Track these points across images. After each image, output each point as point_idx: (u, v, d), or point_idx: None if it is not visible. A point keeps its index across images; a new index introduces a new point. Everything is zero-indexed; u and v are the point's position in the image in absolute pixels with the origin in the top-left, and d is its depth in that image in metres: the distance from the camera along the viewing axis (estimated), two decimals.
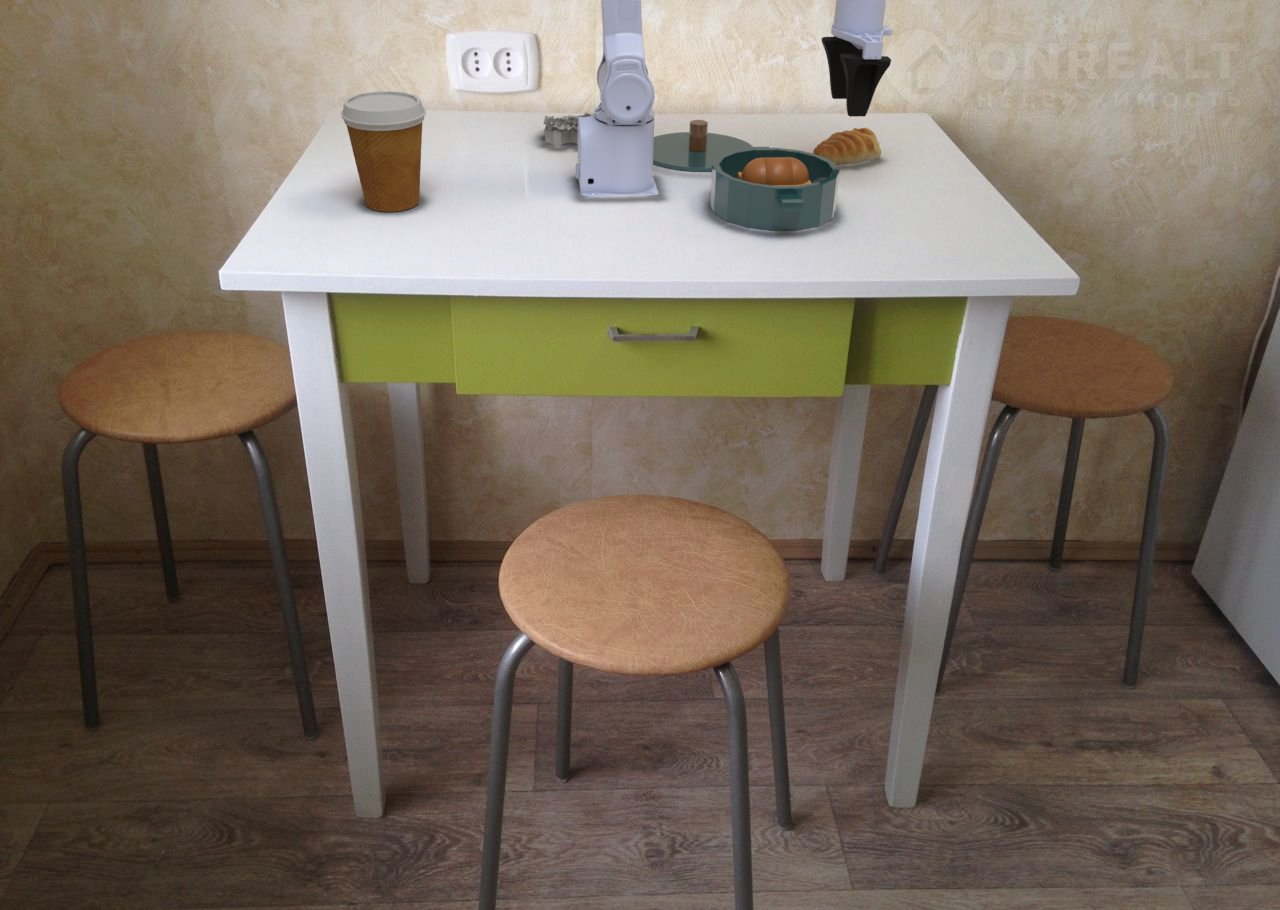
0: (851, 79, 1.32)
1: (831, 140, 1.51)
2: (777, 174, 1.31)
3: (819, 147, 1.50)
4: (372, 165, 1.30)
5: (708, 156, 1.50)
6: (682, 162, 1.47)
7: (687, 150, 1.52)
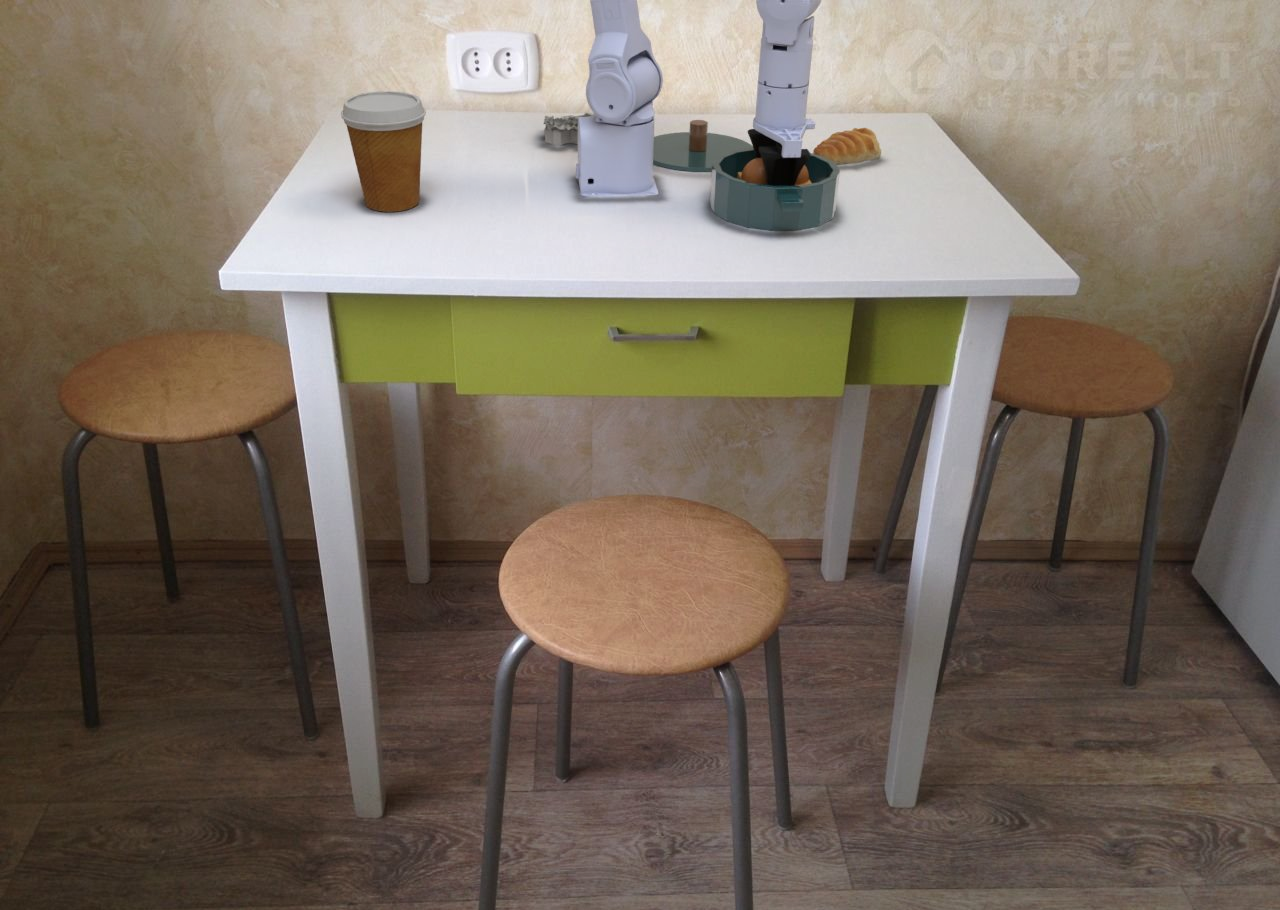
0: (770, 172, 1.29)
1: (831, 140, 1.51)
2: None
3: (819, 147, 1.50)
4: (372, 165, 1.30)
5: (708, 156, 1.50)
6: (682, 162, 1.47)
7: (687, 150, 1.52)
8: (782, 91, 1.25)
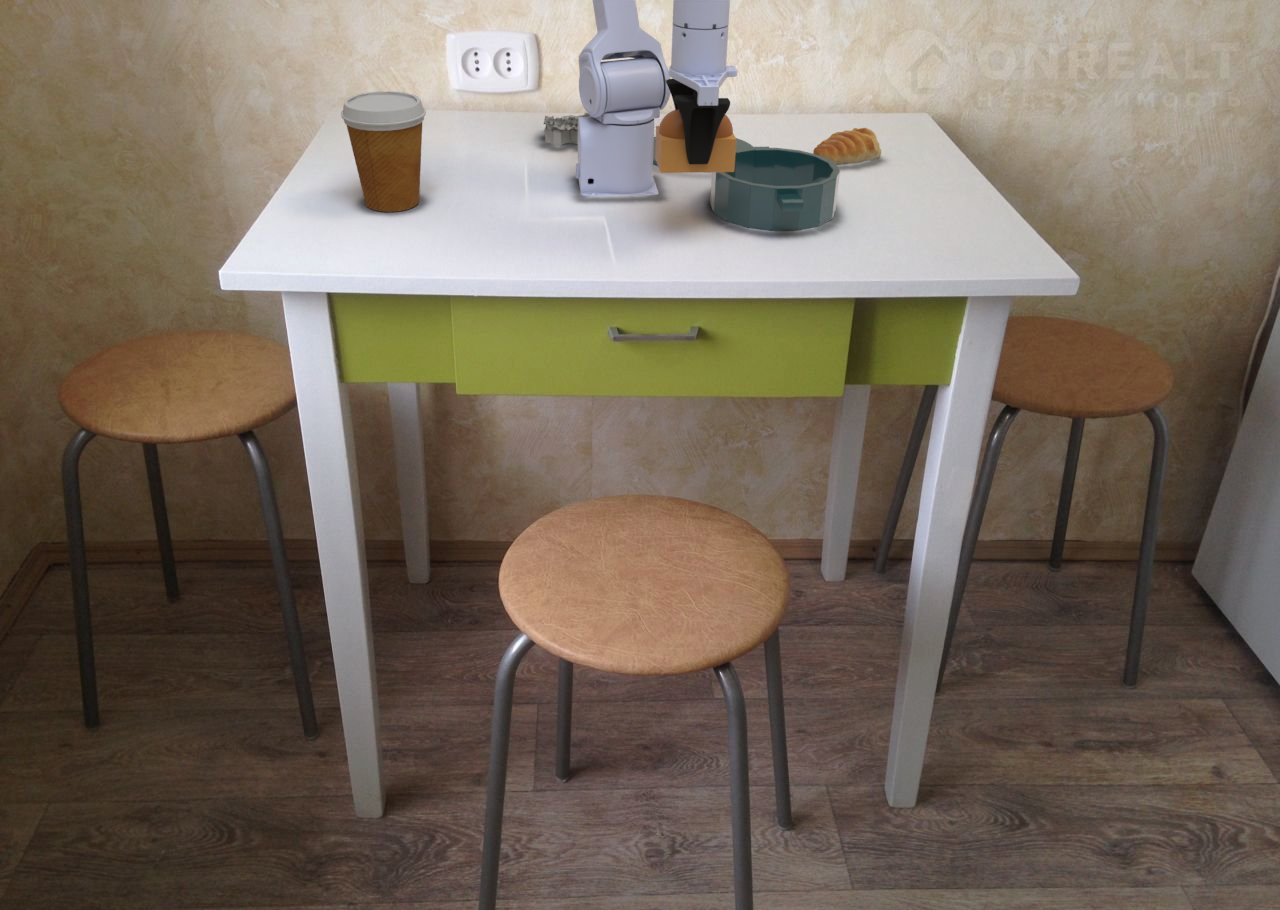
0: (687, 124, 1.17)
1: (831, 140, 1.51)
2: None
3: (819, 147, 1.50)
4: (372, 165, 1.30)
5: None
6: None
7: None
8: (698, 33, 1.14)
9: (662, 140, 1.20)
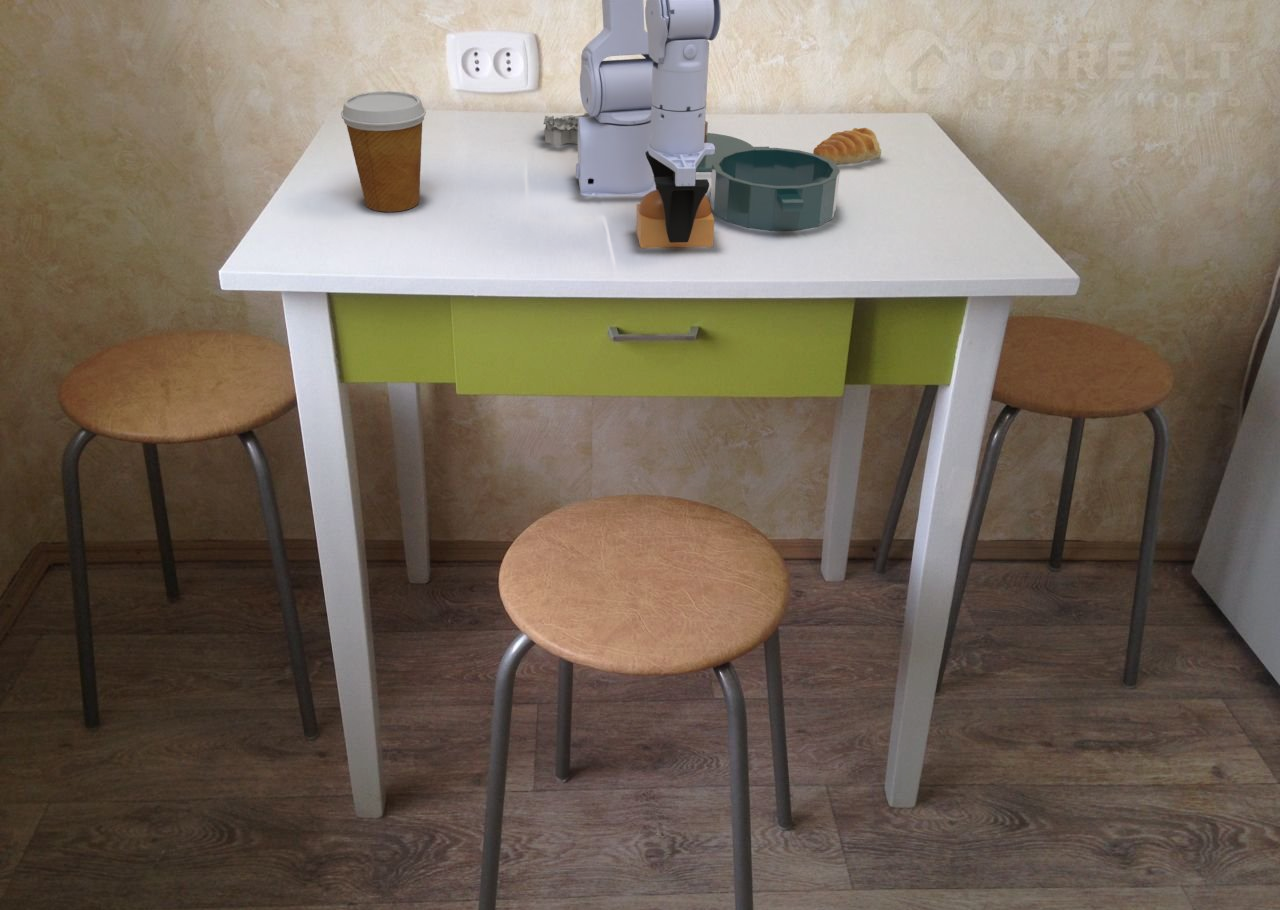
0: (666, 205, 1.19)
1: (831, 140, 1.51)
2: None
3: (819, 147, 1.50)
4: (372, 165, 1.30)
5: (708, 156, 1.50)
6: None
7: None
8: (675, 114, 1.17)
9: (642, 221, 1.23)
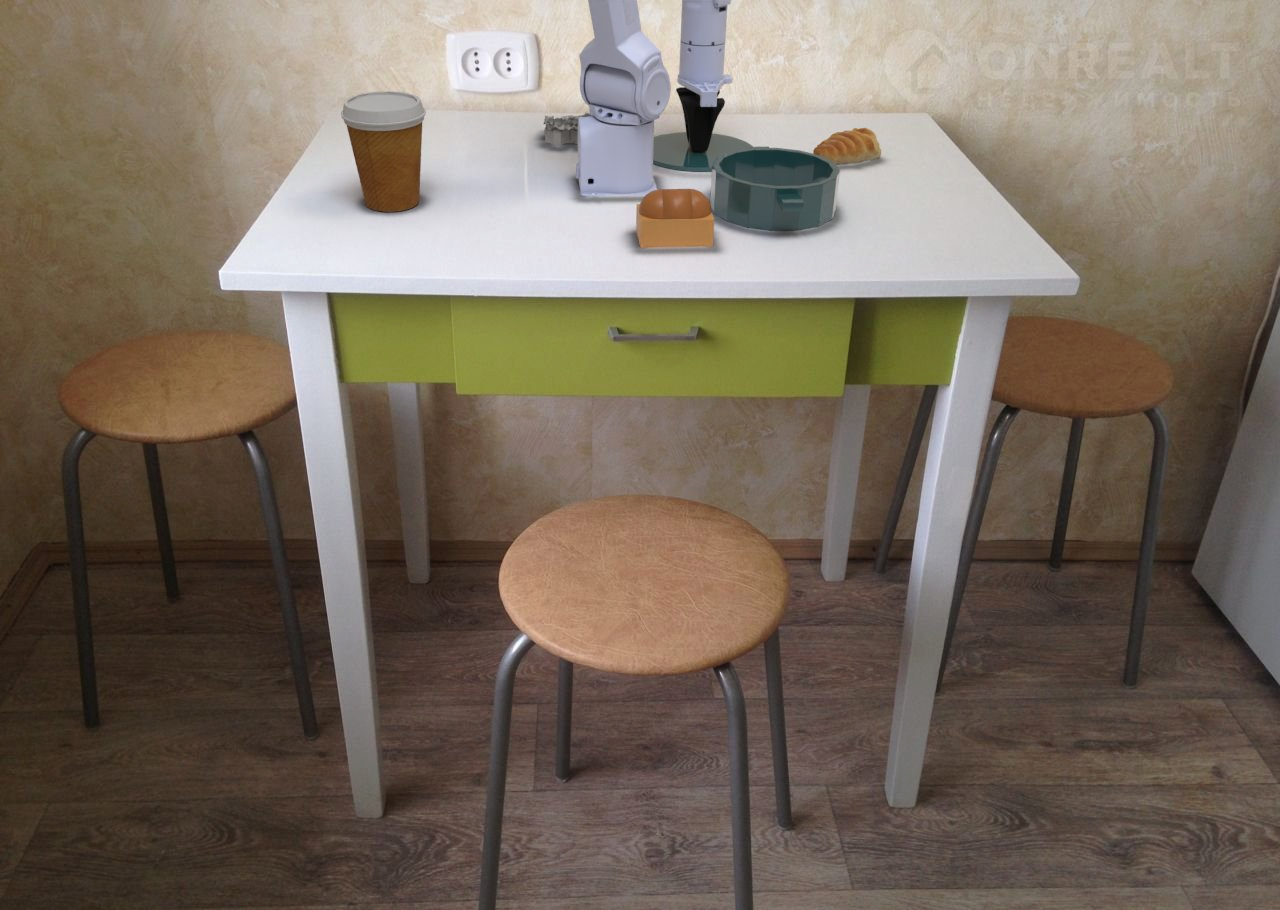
0: (690, 118, 1.47)
1: (831, 140, 1.51)
2: (675, 207, 1.23)
3: (819, 147, 1.50)
4: (372, 165, 1.30)
5: (708, 156, 1.50)
6: (682, 162, 1.47)
7: (687, 150, 1.52)
8: (700, 48, 1.43)
9: (642, 221, 1.23)
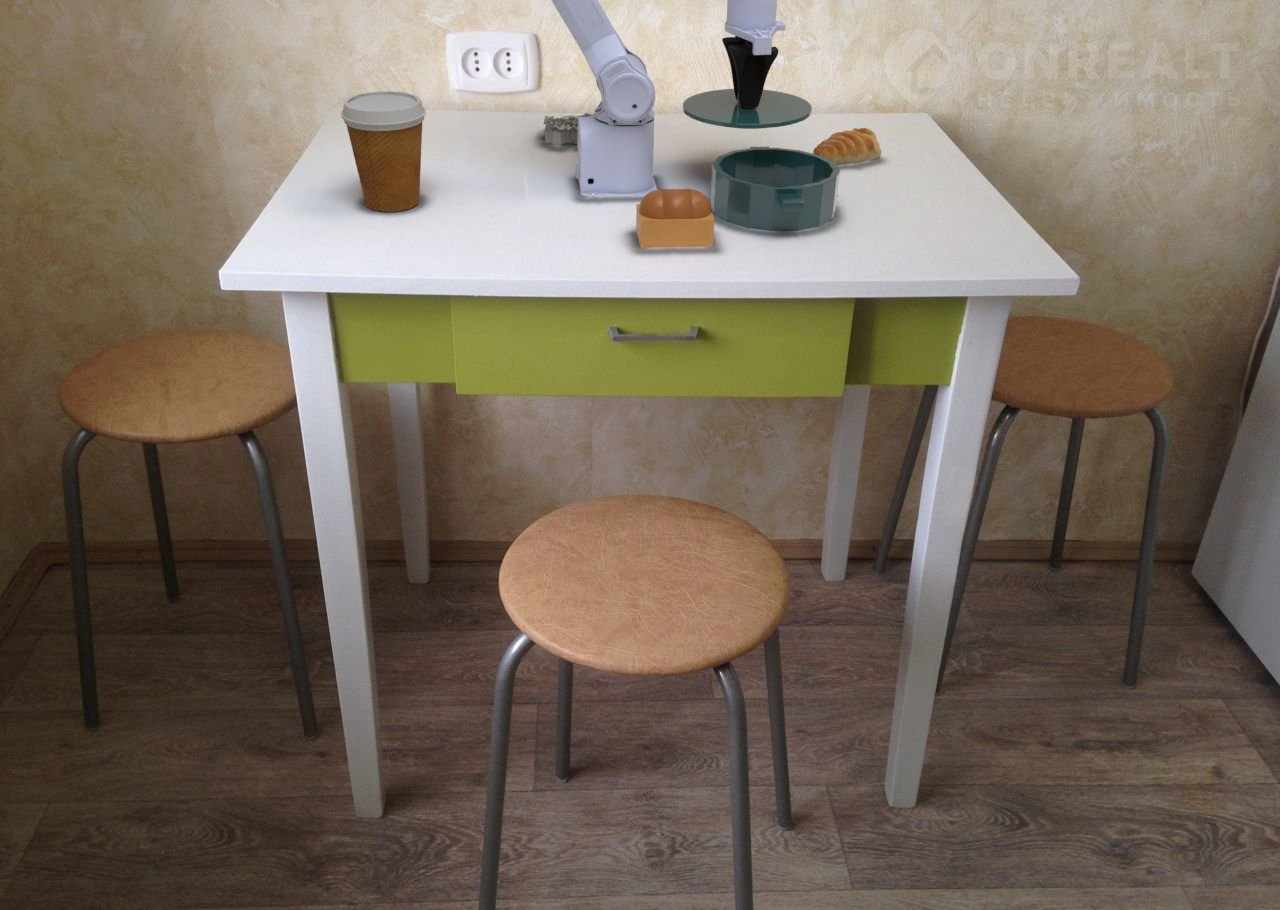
0: (740, 70, 1.33)
1: (831, 140, 1.51)
2: (675, 207, 1.23)
3: (819, 147, 1.50)
4: (372, 165, 1.30)
5: (760, 112, 1.35)
6: (732, 119, 1.33)
7: (736, 107, 1.37)
8: None
9: (642, 221, 1.23)
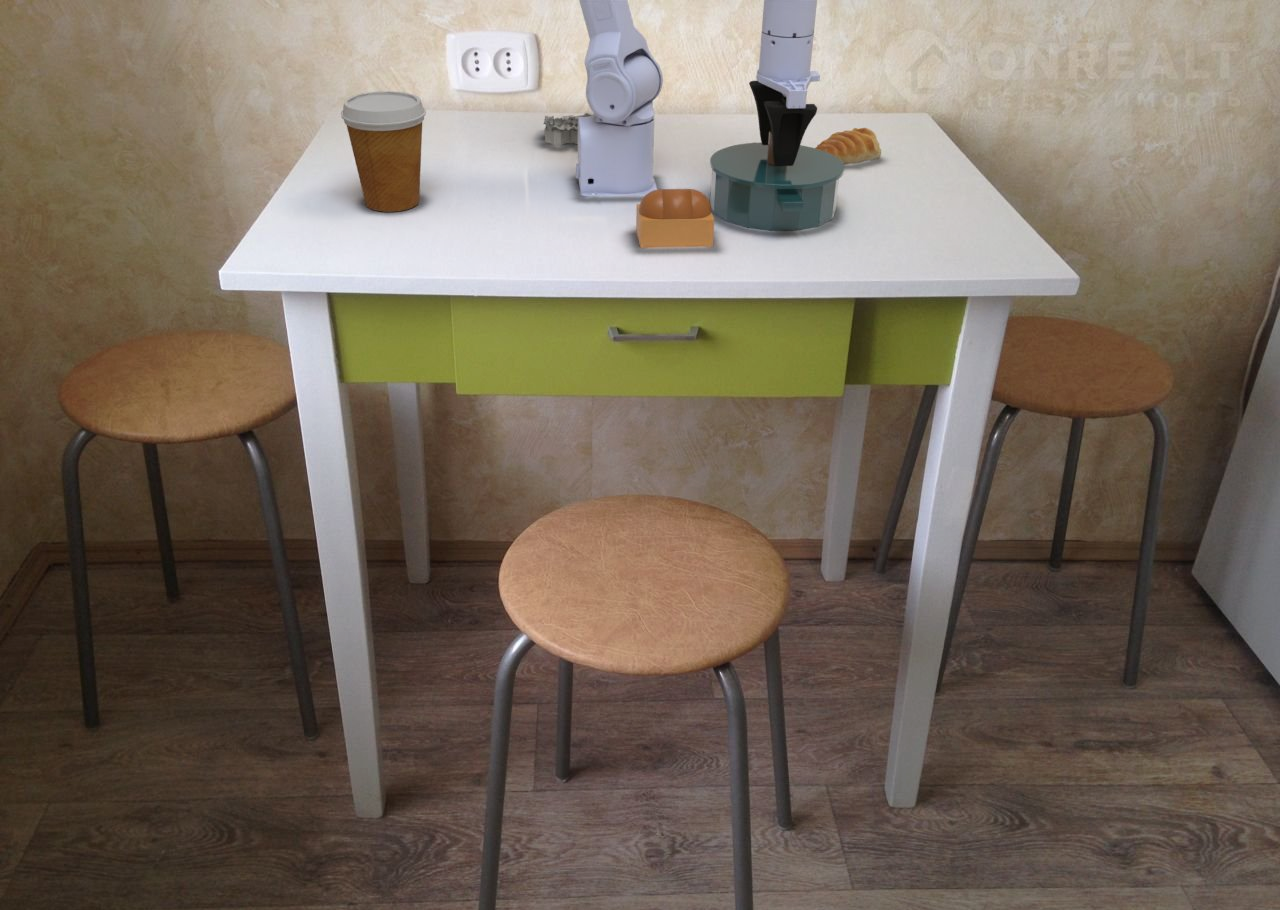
0: (776, 128, 1.25)
1: (831, 140, 1.51)
2: (675, 207, 1.23)
3: (819, 147, 1.50)
4: (372, 165, 1.30)
5: (791, 171, 1.30)
6: (762, 178, 1.28)
7: (765, 164, 1.32)
8: (786, 41, 1.23)
9: (642, 221, 1.23)
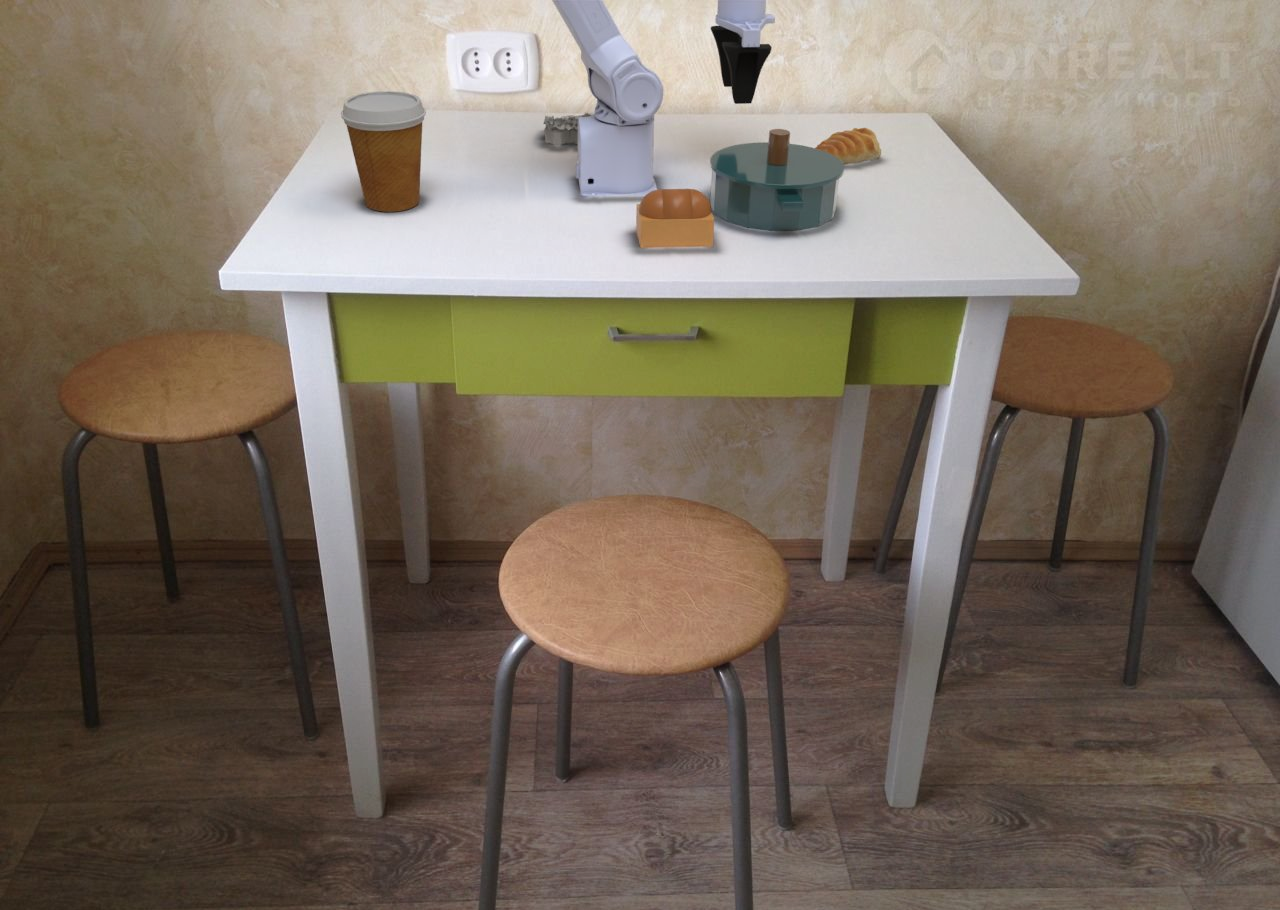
0: (733, 67, 1.34)
1: (831, 140, 1.51)
2: (675, 207, 1.23)
3: (819, 147, 1.50)
4: (372, 165, 1.30)
5: (791, 171, 1.30)
6: (762, 178, 1.28)
7: (765, 164, 1.32)
8: None
9: (642, 221, 1.23)
